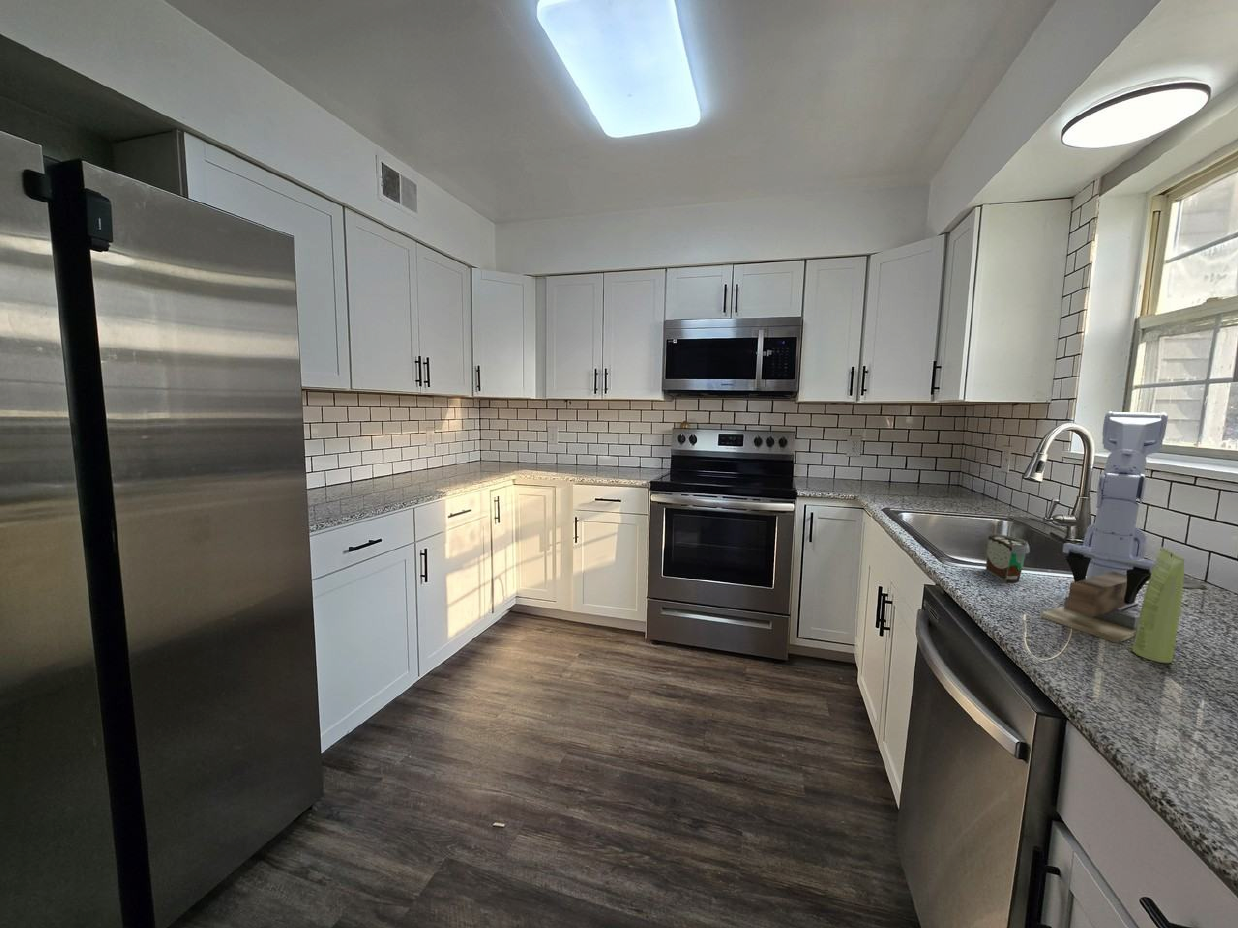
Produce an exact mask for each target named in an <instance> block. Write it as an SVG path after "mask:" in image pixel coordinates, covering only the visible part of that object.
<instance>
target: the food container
mask: <svg viewBox="0 0 1238 928" xmlns="http://www.w3.org/2000/svg"><path fill="white" fill-rule="evenodd" d="M986 541H987V545H986V546H987V548H986V564H985V570H986V571H987V572H989V573H990V574H992V575H994V576H995V577H996V578H998V579H1000V580H1002V581H1003V582H1005V583H1017V582H1019V581H1020V579H1021V575H1022V571H1023V566H1024V563H1025V558H1026V554H1029V553H1030V552H1031V551H1030V550H1031V549H1030V545H1029V543H1028V541H1026V540H1025V539H1020V538H1018V537H1015V536H1010V535H1005V534H998V533H987V537H986Z"/></svg>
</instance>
